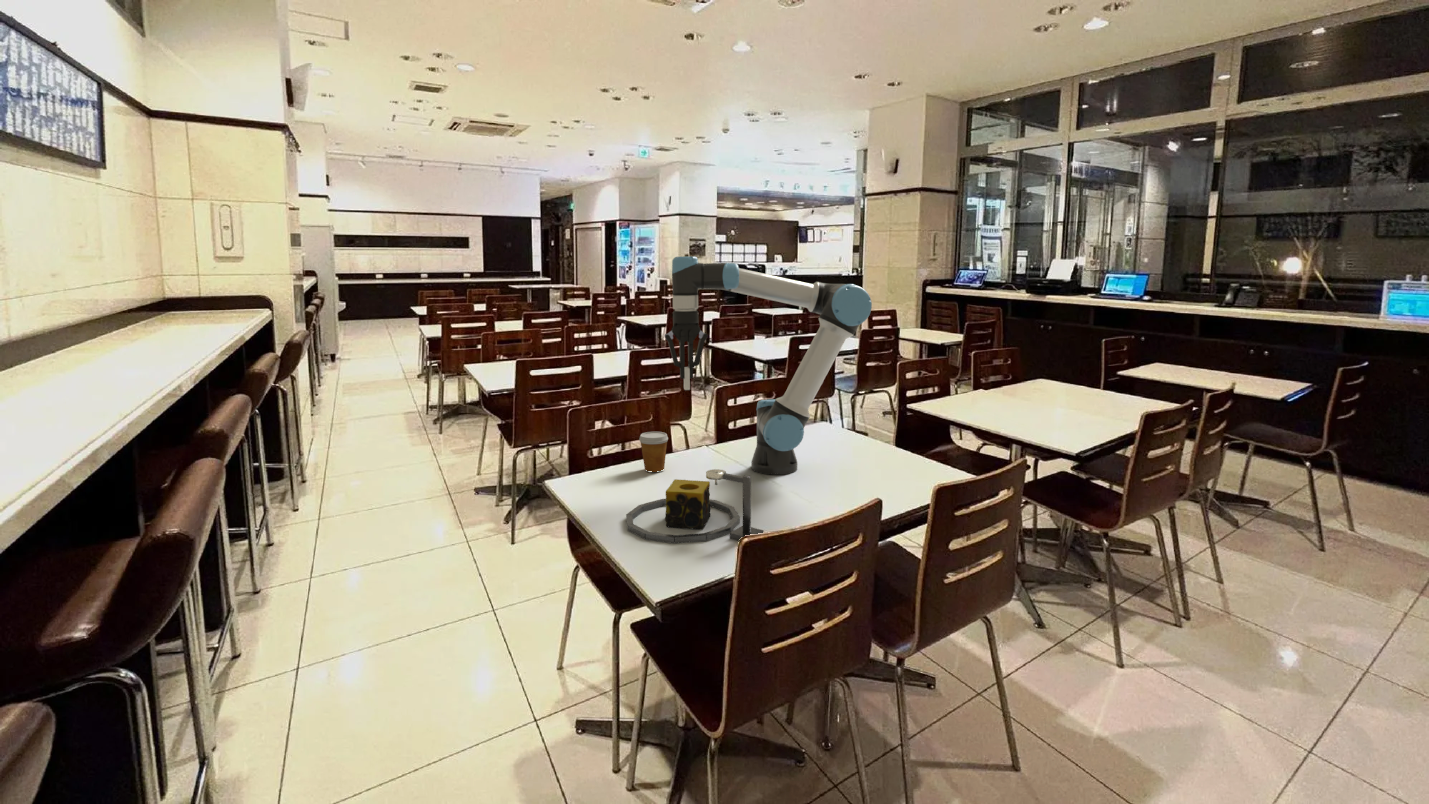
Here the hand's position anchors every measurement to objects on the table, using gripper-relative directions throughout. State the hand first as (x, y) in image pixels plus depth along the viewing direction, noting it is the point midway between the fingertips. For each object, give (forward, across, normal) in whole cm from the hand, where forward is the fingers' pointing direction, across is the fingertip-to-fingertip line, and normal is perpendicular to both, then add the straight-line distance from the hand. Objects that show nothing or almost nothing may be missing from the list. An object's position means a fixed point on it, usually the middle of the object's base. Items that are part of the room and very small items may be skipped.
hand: (686, 389), depth 206 cm
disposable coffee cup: (+30, +9, -16) cm, 35 cm away
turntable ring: (+29, +6, +32) cm, 44 cm away
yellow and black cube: (+30, +5, +33) cm, 44 cm away
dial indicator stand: (+29, -5, +43) cm, 52 cm away
